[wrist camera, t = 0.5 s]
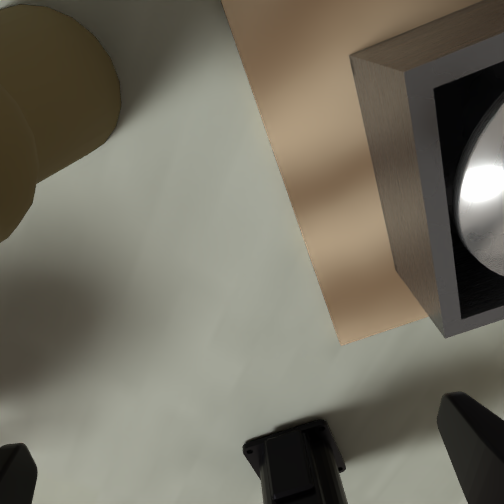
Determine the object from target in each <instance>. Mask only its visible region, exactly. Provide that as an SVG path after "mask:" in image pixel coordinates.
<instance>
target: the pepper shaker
mask: <svg viewBox="0 0 504 504" xmlns="http://www.w3.org/2000/svg"><path fill="white" fill-rule="evenodd" d="M120 109H121V94H120V82H119V79H118V77H117V74H116V71H115V69H114V66H113V63H112V61H111V58H110V57H109V55H108V54H107V52H106V51H105V50H104V48H103V47H102V46H101V44H100V43H99V41H98V40H97V39H96V37H95V36H94V35H93V34H92V33H90V32H89V31H88V30H87V29H85V28H84V27H83V26H82V25H81V24H79V23H78V22H77V21H76V20H74V19H73V18H72V17H69V16H67V15H65V14H62V13H60V12H58V11H55V10H53V9H51V8H48V7H44V6H34V5H23V4H19V5H16V6H12V7H8V8H5V9H1V10H0V243H1V242H2V241H4V240H5V239H7V238H8V237H9V236H10V235H11V233H12V232H13V231H14V230H15V229H16V227H17V226H18V225H19V223H20V222H21V220H22V219H23V217H24V216H25V214H26V212H27V211H28V209H29V208H30V206H31V205H32V203H33V198H34V193H35V188H36V184H37V183H39V182H41V181H42V180H44V179H46V178H48V177H49V176H51V175H53V174H54V173H56V172H58V171H60V170H61V169H63V168H65V167H67V166H68V165H70V164H72V163H74V162H75V161H77V160H79V159H81V158H82V157H84V156H86V155H88V154H89V153H91V152H92V151H94V150H95V149H97V148H98V147H99V146H101V145H102V144H104V143H105V142H106V140H107V139H108V137H109V136H110V134H111V133H112V132H113V130H114V129H115V127H116V125H117V121H118V117H119V113H120Z"/></svg>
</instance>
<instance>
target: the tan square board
mask: <svg viewBox="0 0 504 504" xmlns="http://www.w3.org/2000/svg"><path fill="white" fill-rule="evenodd" d="M480 1H482V0H221V3H222V5H223V8H224V11H225V14H226V17H227V20H228V23H229V26H230V28H231V31H232V34H233V37H234V40H235V43H236V46H237V49H238V51H239V54H240V57H241V60H242V63H243V66H244V69H245V72H246V74H247V77H248V80H249V83H250V86H251V89H252V92H253V95H254V98H255V100H256V103H257V106H258V109H259V112H260V115H261V118H262V121H263V123H264V126H265V129H266V132H267V135H268V138H269V141H270V144H271V146H272V149H273V152H274V155H275V158H276V161H277V164H278V167H279V169H280V172H281V175H282V178H283V181H284V184H285V187H286V190H287V192H288V195H289V198H290V201H291V204H292V207H293V210H294V213H295V215H296V218H297V221H298V224H299V227H300V230H301V233H302V236H303V238H304V241H305V244H306V247H307V250H308V253H309V256H310V259H311V262H312V264H313V267H314V270H315V273H316V276H317V279H318V282H319V285H320V287H321V290H322V293H323V296H324V299H325V302H326V305H327V308H328V310H329V313H330V316H331V319H332V322H333V325H334V328H335V331H336V333H337V336H338V339H339V342H340V344H341V346H342V345H345V344H348V343H351V342H354V341H357V340H360V339H363V338H366V337H369V336H372V335H375V334H378V333H381V332H384V331H387V330H390V329H393V328H396V327H399V326H402V325H405V324H408V323H411V322H414V321H416V320H419V319H422V318H425V317H428V314H427V313H426V312H425V310H424V309H423V308H422V306H421V305H420V303H419V302H418V301H417V299H416V298H415V297H414V295H413V294H412V292H411V291H410V290H409V288H408V287H407V286H406V284H405V283H404V282H403V280H402V279H401V277H400V276H399V275H398V273H397V272H396V270H395V266H394V261H393V257H392V252H391V247H390V243H389V238H388V234H387V229H386V224H385V220H384V215H383V211H382V206H381V201H380V197H379V192H378V188H377V183H376V179H375V174H374V169H373V165H372V160H371V156H370V151H369V146H368V142H367V137H366V133H365V128H364V123H363V119H362V114H361V110H360V105H359V100H358V96H357V91H356V87H355V82H354V77H353V73H352V68H351V64H350V59H349V55H350V54H353V53H355V52H358V51H360V50H362V49H365V48H367V47H370V46H372V45H375V44H377V43H380V42H382V41H385V40H387V39H389V38H392V37H394V36H397V35H399V34H402V33H404V32H407V31H409V30H411V29H414V28H416V27H419V26H421V25H424V24H426V23H429V22H431V21H433V20H436V19H438V18H441V17H443V16H446V15H448V14H451V13H453V12H455V11H458V10H460V9H463V8H465V7H468V6H470V5H473V4H475V3H477V2H480Z"/></svg>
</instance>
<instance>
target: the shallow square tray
mask: <svg viewBox="0 0 504 504" xmlns="http://www.w3.org/2000/svg"><path fill="white" fill-rule="evenodd" d="M349 59H350V64H351V68H352V73H353V77H354V82H355V87H356V91H357V96H358V100H359V105H360V110H361V114H362V119H363V123H364V128H365V133H366V137H367V142H368V146H369V151H370V156H371V160H372V165H373V169H374V174H375V179H376V183H377V188H378V192H379V197H380V201H381V206H382V211H383V215H384V220H385V224H386V229H387V234H388V238H389V243H390V247H391V252H392V257H393V261H394V266H395V270H396V272H397V273H398V275H399V276H400V277H401V279H402V280H403V282H404V283H405V284H406V286H407V287H408V288H409V290H410V291H411V292H412V294H413V295H414V297H415V298H416V299H417V301H418V302H419V303H420V305H421V306H422V308H423V309H424V310H425V312H426V313H427V314H428V316H429V317H430V318H431V320H432V321H433V323H434V324H435V325H436V327H437V328H438V329H439V331H440V332H441V334H442V335H443V336H444V338H448V337H451V336H454V335H457V334H460V333H463V332H466V331H469V330H472V329H475V328H478V327H481V326H484V325H487V324H490V323H493V322H496V321H499V320H502V319H504V276H502V275H500V274H498V273H496V272H494V271H492V270H490V269H488V268H487V267H486V266H485V265H483V264H482V263H481V262H480V261H478V260H477V259H476V258H475V257H474V256H473V255H472V254H471V253H470V252H469V251H468V250H467V248H466V247H465V246H464V244H463V243H462V241H461V240H460V238H459V236H458V233H457V231H456V228H455V226H454V221H453V216H452V202H451V198H452V188H453V181H454V177H455V173H456V169H457V166H458V163H459V160H460V157H461V155H462V152H463V150H464V148H465V146H466V144H467V142H468V140H469V138H470V136H471V134H472V132H473V131H474V129H475V127H476V126H477V124H478V123H479V121H480V119H481V118H482V116H483V115H484V114H485V112H486V111H487V110H488V109H489V107H490V106H491V105H492V103H493V102H494V101H495V100H496V99H497V98H498V96H499V95H500V94H501V93H502V92H503V91H504V0H482V1H480V2H477V3H475V4H473V5H470V6H468V7H465V8H463V9H460V10H458V11H455V12H453V13H451V14H448V15H446V16H443V17H441V18H438V19H436V20H433V21H431V22H429V23H426V24H424V25H421V26H419V27H416V28H414V29H411V30H409V31H407V32H404V33H402V34H399V35H397V36H394V37H392V38H389V39H387V40H385V41H382V42H380V43H377V44H375V45H372V46H370V47H367V48H365V49H362V50H360V51H358V52H355V53H353V54H350V55H349Z"/></svg>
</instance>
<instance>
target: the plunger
mask: <svg viewBox="0 0 504 504" xmlns="http://www.w3.org/2000/svg"><path fill="white" fill-rule="evenodd" d="M451 202H452V216H453V221H454V226H455V228H456V231H457V233H458V236H459V238H460V240H461V241H462V243H463V244H464V246H465V247H466V248H467V250H468V251H469V252H470V253H471V254H472V255H473V256H474V257H475V258H476V259H477V260H478V261H480V262H481V263H482V264H483V265H485V266H486V267H487V268H488V269H490V270H492V271H494V272H496V273H498V274H500V275H502V276H504V91H503V92H502V93H501V94H500V95H499V96H498V98H497V99H496V100H495V101H494V102H493V103H492V105H491V106H490V107H489V109H488V110H487V111H486V112H485V114H484V115H483V116H482V118H481V119H480V121H479V123H478V124H477V126H476V127H475V129H474V131H473V132H472V134H471V136H470V138H469V140H468V142H467V144H466V146H465V148H464V150H463V152H462V155H461V157H460V160H459V163H458V166H457V169H456V173H455V177H454V181H453V188H452V198H451Z"/></svg>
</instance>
